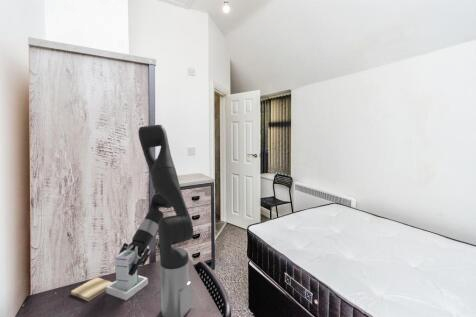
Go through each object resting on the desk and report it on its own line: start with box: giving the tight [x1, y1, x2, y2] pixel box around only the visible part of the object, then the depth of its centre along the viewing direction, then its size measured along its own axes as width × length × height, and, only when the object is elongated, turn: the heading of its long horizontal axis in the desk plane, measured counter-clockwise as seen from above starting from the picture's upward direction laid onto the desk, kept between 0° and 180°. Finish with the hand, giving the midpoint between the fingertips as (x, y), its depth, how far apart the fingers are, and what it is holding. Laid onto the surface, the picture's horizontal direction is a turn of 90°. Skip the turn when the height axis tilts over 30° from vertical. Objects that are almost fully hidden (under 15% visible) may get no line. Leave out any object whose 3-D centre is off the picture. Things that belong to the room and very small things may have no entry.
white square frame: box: [105, 274, 149, 301], centre depth 90 cm, size 11×11×2 cm
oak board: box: [70, 276, 114, 302], centre depth 89 cm, size 10×10×1 cm
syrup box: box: [114, 250, 139, 292], centre depth 89 cm, size 6×6×14 cm
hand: (123, 272), depth 88 cm, fingers closed on syrup box, 6 cm apart
